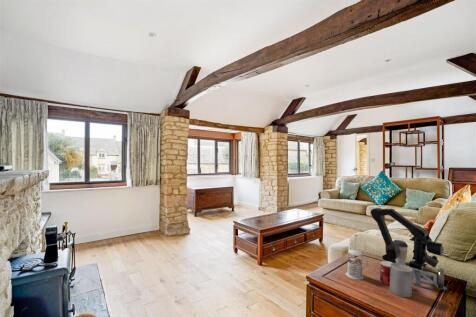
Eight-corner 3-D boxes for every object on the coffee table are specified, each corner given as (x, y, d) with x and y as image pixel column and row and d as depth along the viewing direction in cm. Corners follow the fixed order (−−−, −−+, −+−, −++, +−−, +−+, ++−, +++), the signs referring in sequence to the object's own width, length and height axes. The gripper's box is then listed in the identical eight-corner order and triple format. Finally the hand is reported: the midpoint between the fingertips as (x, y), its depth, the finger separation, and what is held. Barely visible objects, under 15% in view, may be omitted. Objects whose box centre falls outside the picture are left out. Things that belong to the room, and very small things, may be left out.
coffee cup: (402, 260, 164) (402, 239, 164) (410, 266, 155) (411, 243, 155) (388, 259, 165) (389, 238, 165) (396, 265, 156) (396, 242, 156)
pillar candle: (390, 285, 130) (391, 258, 130) (412, 291, 124) (413, 264, 124) (388, 292, 123) (389, 264, 123) (411, 300, 117) (412, 270, 117)
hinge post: (438, 288, 128) (438, 269, 128) (434, 285, 132) (435, 266, 132) (447, 290, 127) (447, 270, 127) (442, 286, 131) (443, 267, 131)
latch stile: (414, 286, 130) (415, 271, 130) (412, 283, 133) (412, 268, 133) (422, 287, 129) (422, 272, 129) (419, 284, 132) (420, 269, 132)
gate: (436, 284, 131) (436, 273, 131) (436, 285, 130) (436, 274, 130) (412, 277, 138) (412, 267, 138) (412, 278, 137) (412, 268, 137)
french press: (344, 270, 147) (346, 230, 147) (365, 273, 143) (366, 233, 143) (346, 277, 137) (347, 235, 137) (368, 281, 133) (369, 238, 133)
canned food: (381, 277, 138) (382, 259, 138) (397, 283, 133) (398, 264, 133) (378, 282, 133) (378, 263, 133) (394, 288, 127) (395, 268, 127)
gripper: (433, 259, 126) (432, 287, 126) (441, 250, 137) (440, 276, 138) (408, 252, 134) (407, 278, 135) (417, 244, 146) (417, 268, 147)
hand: (418, 275), depth 138 cm, fingers closed
